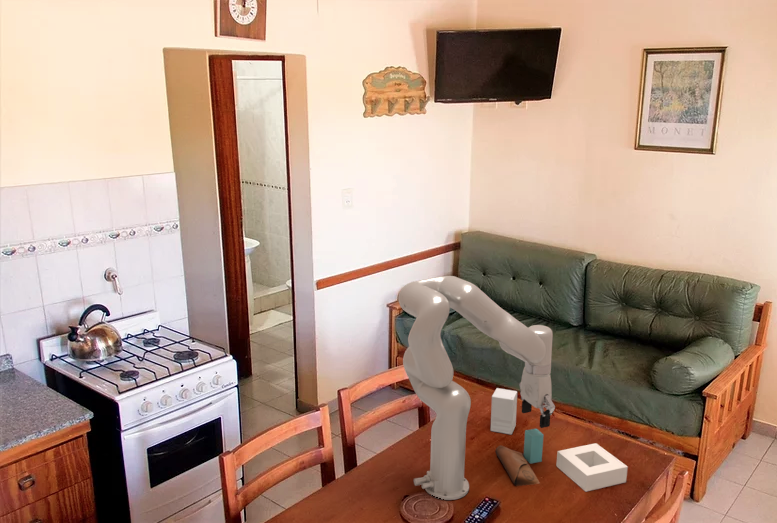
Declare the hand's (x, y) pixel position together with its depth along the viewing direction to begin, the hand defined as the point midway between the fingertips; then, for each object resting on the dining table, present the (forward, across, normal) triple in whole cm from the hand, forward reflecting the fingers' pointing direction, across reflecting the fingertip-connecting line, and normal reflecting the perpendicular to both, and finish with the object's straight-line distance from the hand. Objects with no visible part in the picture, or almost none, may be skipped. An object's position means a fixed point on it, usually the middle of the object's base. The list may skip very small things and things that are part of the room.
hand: (535, 419), depth 193 cm
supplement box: (+14, -20, +1) cm, 24 cm away
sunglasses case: (+14, +3, -8) cm, 16 cm away
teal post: (+13, 0, -1) cm, 13 cm away
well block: (+13, +13, +11) cm, 22 cm away
